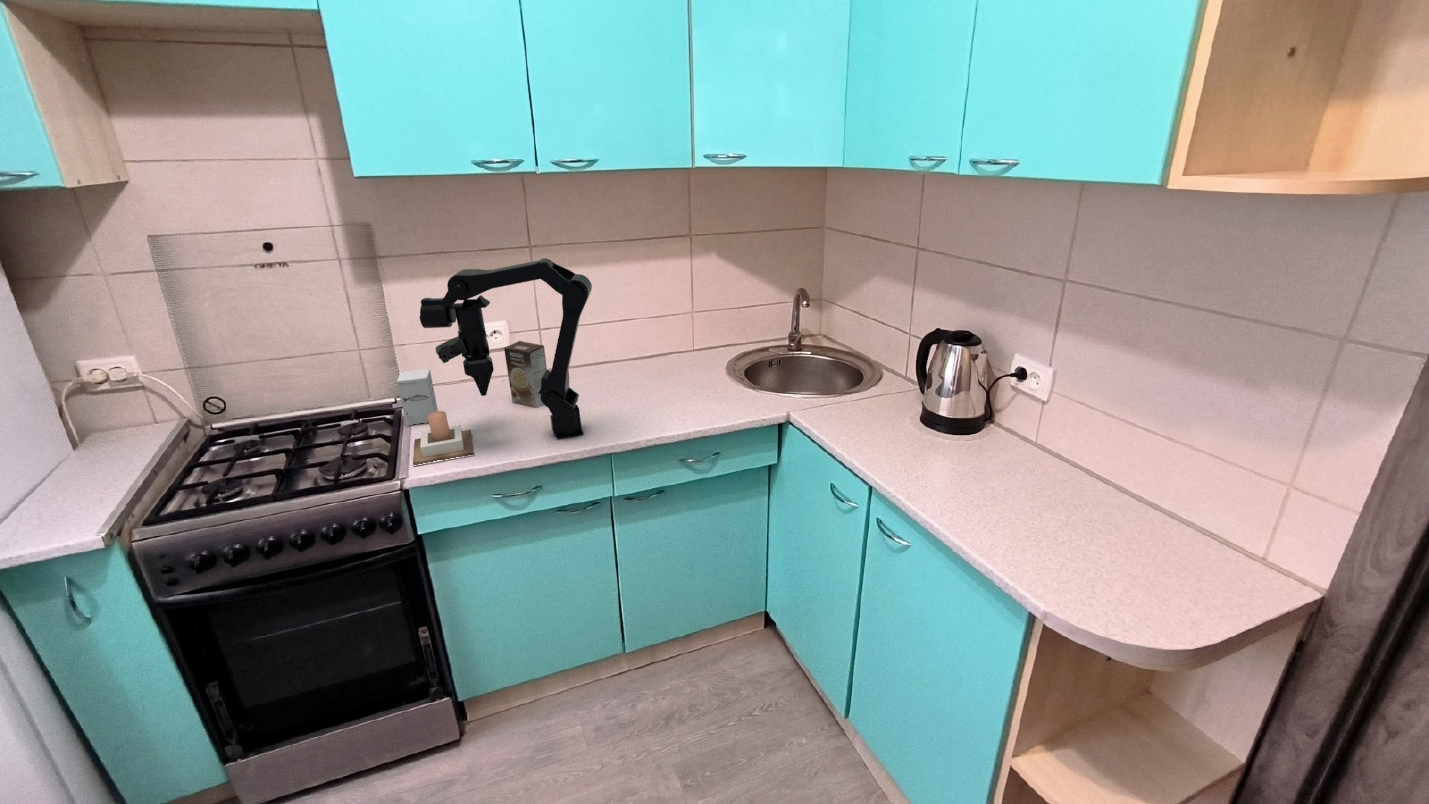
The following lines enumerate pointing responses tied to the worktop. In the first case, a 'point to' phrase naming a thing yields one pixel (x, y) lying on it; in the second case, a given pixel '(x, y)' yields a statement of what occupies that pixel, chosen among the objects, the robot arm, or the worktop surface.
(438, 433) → the terracotta pin
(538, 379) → the coffee box
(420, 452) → the board
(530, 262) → the robot arm
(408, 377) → the supplement box
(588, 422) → the worktop surface
